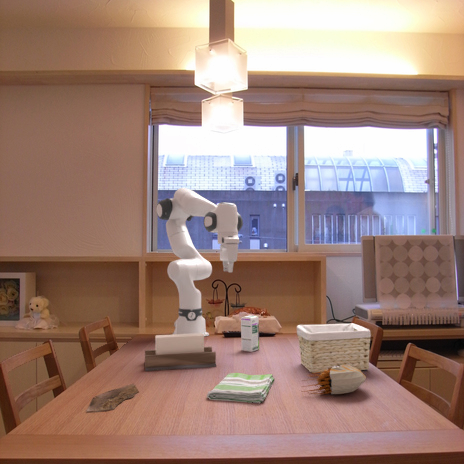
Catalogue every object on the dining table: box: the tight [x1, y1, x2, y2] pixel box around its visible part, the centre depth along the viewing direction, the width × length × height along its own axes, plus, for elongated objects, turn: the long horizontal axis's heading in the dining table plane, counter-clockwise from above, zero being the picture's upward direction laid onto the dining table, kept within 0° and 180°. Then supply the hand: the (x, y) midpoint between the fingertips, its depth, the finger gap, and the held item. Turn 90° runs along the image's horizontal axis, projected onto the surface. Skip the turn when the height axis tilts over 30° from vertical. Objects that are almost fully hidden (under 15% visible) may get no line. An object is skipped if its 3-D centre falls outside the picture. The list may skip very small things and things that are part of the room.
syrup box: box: [240, 315, 260, 353], centre depth 187 cm, size 6×6×14 cm
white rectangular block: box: [154, 333, 205, 355], centre depth 164 cm, size 5×18×10 cm, turn 103°
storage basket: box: [296, 322, 372, 374], centre depth 160 cm, size 24×16×15 cm
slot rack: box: [144, 346, 217, 372], centre depth 164 cm, size 12×26×5 cm, turn 102°
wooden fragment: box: [85, 383, 140, 414], centre depth 128 cm, size 26×11×1 cm, turn 162°
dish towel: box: [206, 372, 275, 404], centre depth 135 cm, size 17×23×4 cm
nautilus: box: [300, 365, 367, 396], centre depth 132 cm, size 8×22×15 cm
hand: (228, 271), depth 184 cm, fingers open, 8 cm apart
